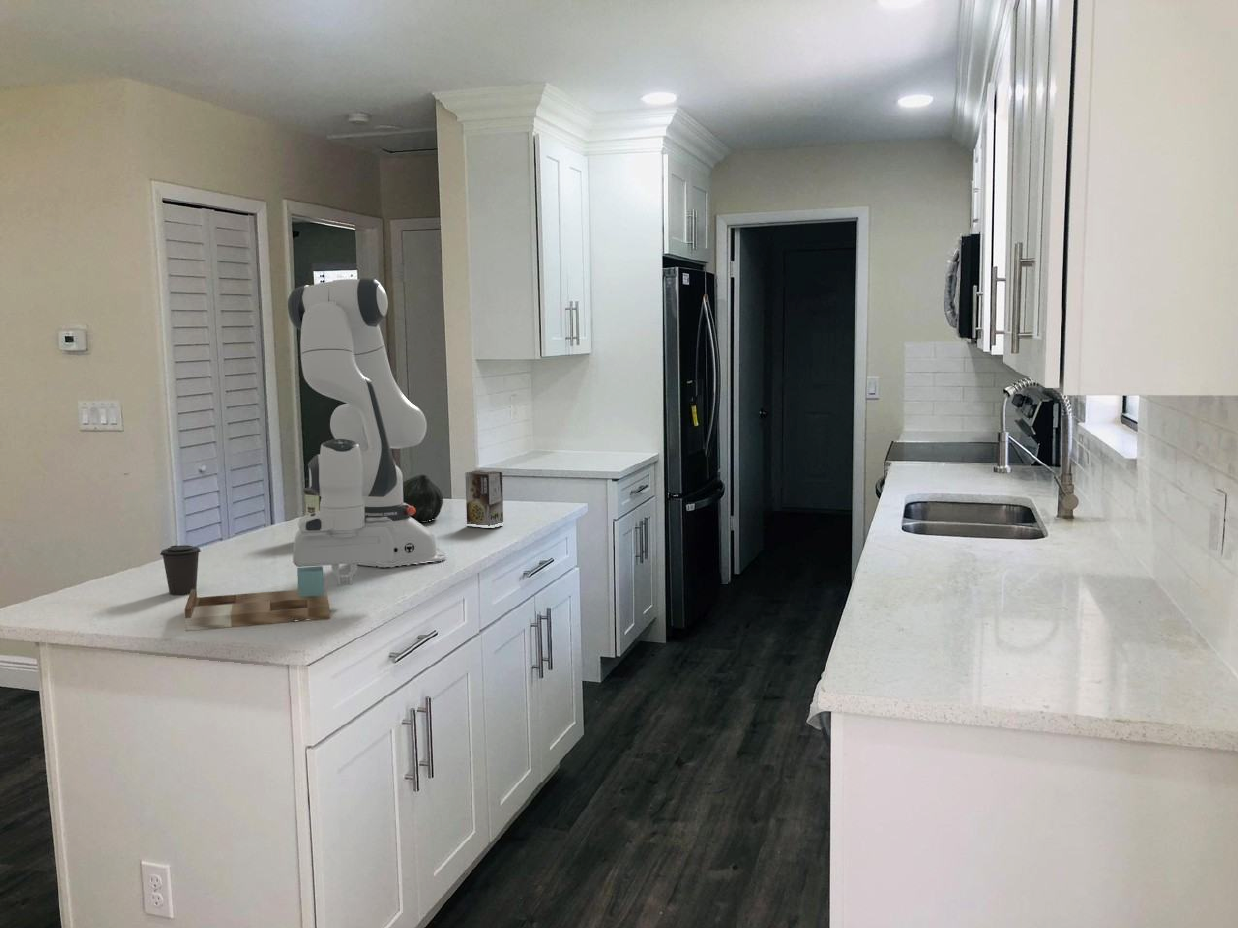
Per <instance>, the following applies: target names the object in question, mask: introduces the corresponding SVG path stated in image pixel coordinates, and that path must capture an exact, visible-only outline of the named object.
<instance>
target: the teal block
mask: <svg viewBox="0 0 1238 928" xmlns="http://www.w3.org/2000/svg"><path fill="white" fill-rule="evenodd" d="M296 569H297V570H296V573H297V576H296V577H297V590H298V595H299V597H308V596H321V595H324V588H325V582H324V581H325V578H324V577H325V576H324V568H323V565H320V566H305V567H297V568H296Z"/></svg>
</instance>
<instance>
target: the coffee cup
mask: <svg viewBox="0 0 1238 928" xmlns="http://www.w3.org/2000/svg"><path fill="white" fill-rule="evenodd" d="M200 552H202V550H201V549H200V547H197V546H192V545H187V544H186V545H185V544H184V545H171V546H170V547H168V548H165V549H163V550H161V552H160V553H159V554H160V556H162V557H163V563H164V569H165V575H166V581H167V588H168V593H169V594H170V595H171V596H185V595H190V592H191V589H197V584H198V570H199V568H198V567H199V557H200V556H199V555H200V554H199V553H200Z"/></svg>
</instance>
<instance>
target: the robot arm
mask: <svg viewBox="0 0 1238 928" xmlns="http://www.w3.org/2000/svg"><path fill="white" fill-rule="evenodd" d="M388 305H389V301H388V295H387V293H386V290H385V288H384V286H383V285H382V284H381V282H379V281H378V280H377V279H375V278H368V277H362V278H359V279H357V278H356V279H355V278H354V279H353V278H351V279H350V278H347V279H345V278H344V279H335V280H332V281H324V282H319V283H317V284H311V285H308V284H305V285H302V286H299V287H296V288H294V289H293V290H292V292H291V293H290V295H289V296H288V301H287V311H288V315H289V316H288V317H289V319H290V321H291V324H292V325H293V326H294V327H295V328H296V329H297V330H299V332H300V348H299V349H300V362H301V369H302V370H301V371H302V376H303V378H304V380H305V382H306V383H307V384H308V386H309V387H310V388H312V390H314V391H316V392H317V393H319V394H321V395H323V396H324V397H327V398H329V399H334V400H336V401H340V402H342V403H345V404H341V405H340V404H339V406H337V407H336V408H335V409H334V410H333V411H332V414H331V415H330V420H329V421H330V422H329V429H330V432H331V434H332V437H333V439H330V440H327V441H324V442H322V444H321V445H320V452H319V453H320V454H319V453H318V454H316V455H314V457H312V458H311V460H310V461H309V462H308V463H307V466H308V467H307V468H308V487H309V489H310V490H311V491H312V492H313V493H315V494H316V495H318V496H321V497H322V498H321V502H320V511H317V512H314V513H311V514H309V515H306V516H305V515H304V516H301V517H300V518H299V519H298V523H297V525H298V529H299V530H297V532H296V534H295V535H294V541H293V550H292V553H293V554H292V563H293V564H294V565H295V566H296V567H297V568H302V567H316V566H331V570H332V573H333V574H334V576H336V578H337V579H336V580H337V586H348V585H353V577H354V575H355V573H356V571H357V570H358V565H359V566H366V567H367V566H369V567H376V566H378V567H377V568H380V567H390V568H396V567H395V566H399V567H402V566H401V565H407V566H409V565H408V564H414V563H420V562H426V561H441V560H443V559H444V558H445V557H446V553H445V551H443V550H442V549H440V548H437V544H436V543H437V542H436V538H435V536H434V533H433V532H432V531H431V530H430V529H428V528H427V527H425V526H424V525H423V524H422V523H420V522H419V521H416V520H415V519H413V518H412V517H411V516H412V515H413V514H414V513H415V511H416V510H415V508H414V507H413V506H410V505H408V504H406V503H404V502H403V482H404V481H403V479H404V478H403V472H402V470H401V468H400V467H399V466H398V465H396V461H395V459H394V457H393V453H392V450H391V449H398V450H399V449H406V448H411V447H415V446H418V445H419V444H421V443H422V441H423V439H424V438H425V435H426V433H427V427H428V424H427V418H426V417H425V414H424V413H423V411H422V410H421V409H420V408H419V407H418V406H416V405H414V404H413V403H412V402H411V401H410V400H409V399H408V398H407V397H406V395H404V393H403V392H402V390H401V389H400V387H399V385H398V384H397V382H396V380H395V379H394V376H393V373H392V371H391V366H390V363H389V359H388V355H387V350H386V346H385V341H384V337H383V334H382V330H381V327H380V324H381V323H382V322H383V321H384V320H385V319H386V317H387V314H388V307H389V306H388ZM445 559H446V558H445ZM443 561H444V560H443ZM441 562H442V561H441ZM346 564H349V568H350V570H349V572H348V574H343V575H341V574H340V572H339V569H340V567H339V566H340V565H346Z"/></svg>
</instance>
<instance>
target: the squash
mask: <svg viewBox="0 0 1238 928" xmlns="http://www.w3.org/2000/svg"><path fill="white" fill-rule="evenodd" d="M443 497H444V496H443V492H442V491H441V489H440V487H439V486H438V485H437V483H435V482H434V481H433V480H432V479H431V478H430V477H429V476H427V475H426V474H419V475H416V476H413V477H410V478H409V479H407V480H405V481H403V502H404V503H406V504H408V505H410V506H413V507H414V508H415V510H416V511H415V513H414V514H413V515H412V516H411V517H412V518H413V519H415V520H416V521H417V522H419V520H420V522H421V521H428V522H430V521H429V520H432V519H434V520H436V519H437V518H438V517H439V515H440V513H441V511H442V507H443V505H444V498H443ZM432 521H433V520H432Z"/></svg>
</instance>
